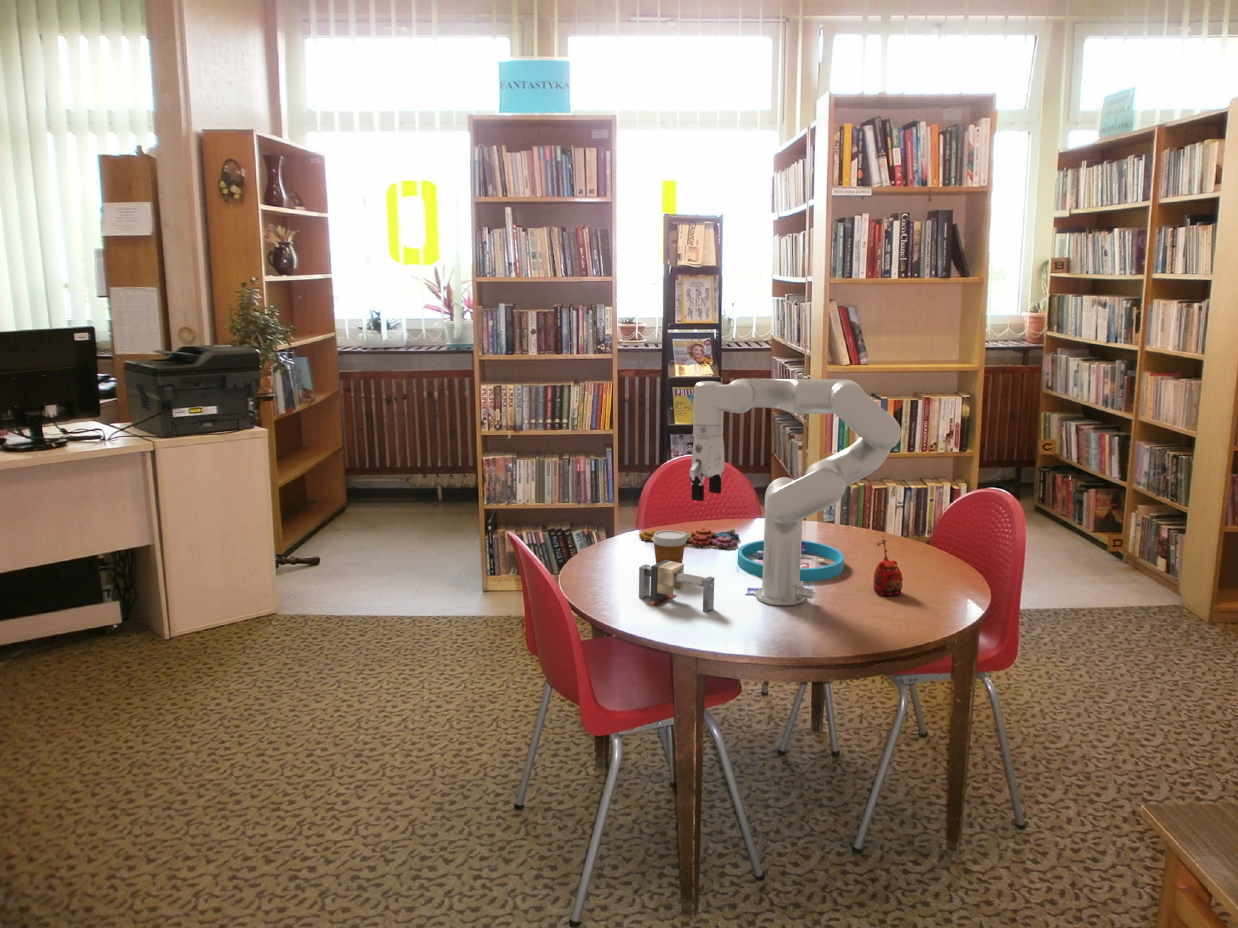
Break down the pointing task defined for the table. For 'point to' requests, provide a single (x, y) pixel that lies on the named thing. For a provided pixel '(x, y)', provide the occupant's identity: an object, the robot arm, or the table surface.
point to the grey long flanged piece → (682, 578)
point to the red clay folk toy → (887, 576)
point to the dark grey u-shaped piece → (655, 582)
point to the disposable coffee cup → (669, 546)
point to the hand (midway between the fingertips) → (706, 496)
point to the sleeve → (669, 577)
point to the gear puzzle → (704, 538)
